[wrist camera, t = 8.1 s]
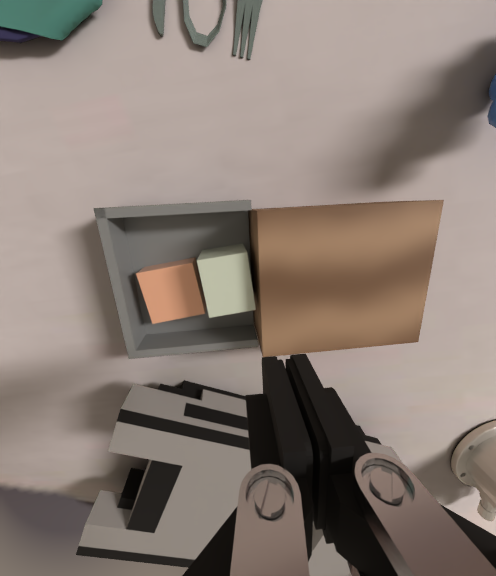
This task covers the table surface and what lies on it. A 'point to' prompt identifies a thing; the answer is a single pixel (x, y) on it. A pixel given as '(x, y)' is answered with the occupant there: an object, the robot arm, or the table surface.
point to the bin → (167, 248)
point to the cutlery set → (81, 3)
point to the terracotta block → (172, 290)
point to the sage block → (226, 280)
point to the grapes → (495, 109)
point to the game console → (183, 479)
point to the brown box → (341, 274)
